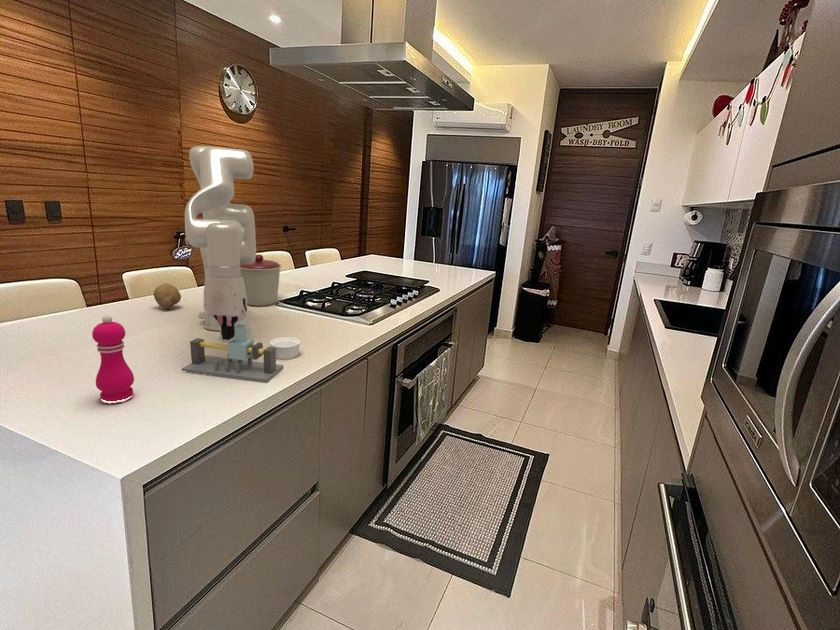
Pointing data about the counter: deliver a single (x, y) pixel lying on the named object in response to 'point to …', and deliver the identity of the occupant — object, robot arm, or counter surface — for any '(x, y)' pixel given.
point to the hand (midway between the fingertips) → (228, 338)
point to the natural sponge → (166, 295)
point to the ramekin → (286, 347)
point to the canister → (261, 281)
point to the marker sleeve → (240, 344)
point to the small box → (243, 322)
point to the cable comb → (233, 362)
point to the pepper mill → (112, 361)
